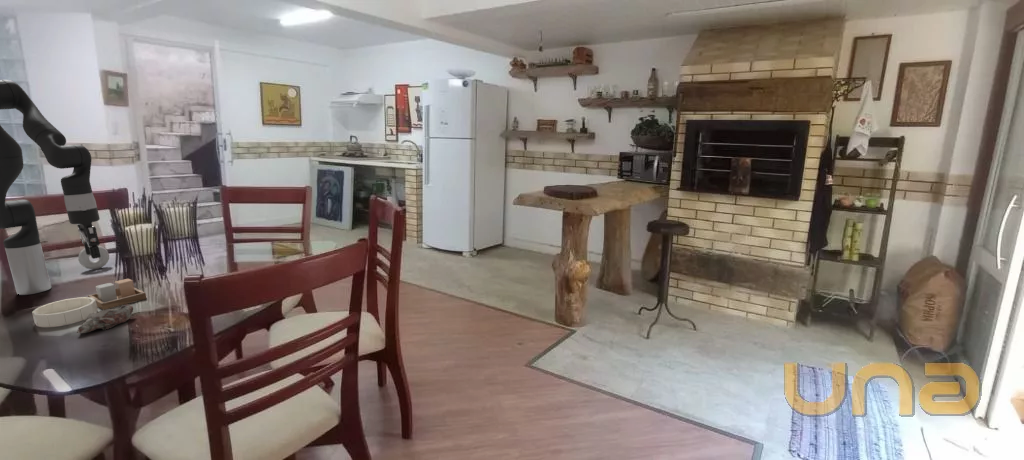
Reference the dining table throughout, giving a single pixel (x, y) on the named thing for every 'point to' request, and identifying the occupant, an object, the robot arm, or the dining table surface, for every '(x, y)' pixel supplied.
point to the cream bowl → (64, 312)
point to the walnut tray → (119, 300)
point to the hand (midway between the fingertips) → (93, 256)
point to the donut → (97, 264)
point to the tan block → (124, 288)
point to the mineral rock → (106, 318)
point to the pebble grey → (106, 292)
